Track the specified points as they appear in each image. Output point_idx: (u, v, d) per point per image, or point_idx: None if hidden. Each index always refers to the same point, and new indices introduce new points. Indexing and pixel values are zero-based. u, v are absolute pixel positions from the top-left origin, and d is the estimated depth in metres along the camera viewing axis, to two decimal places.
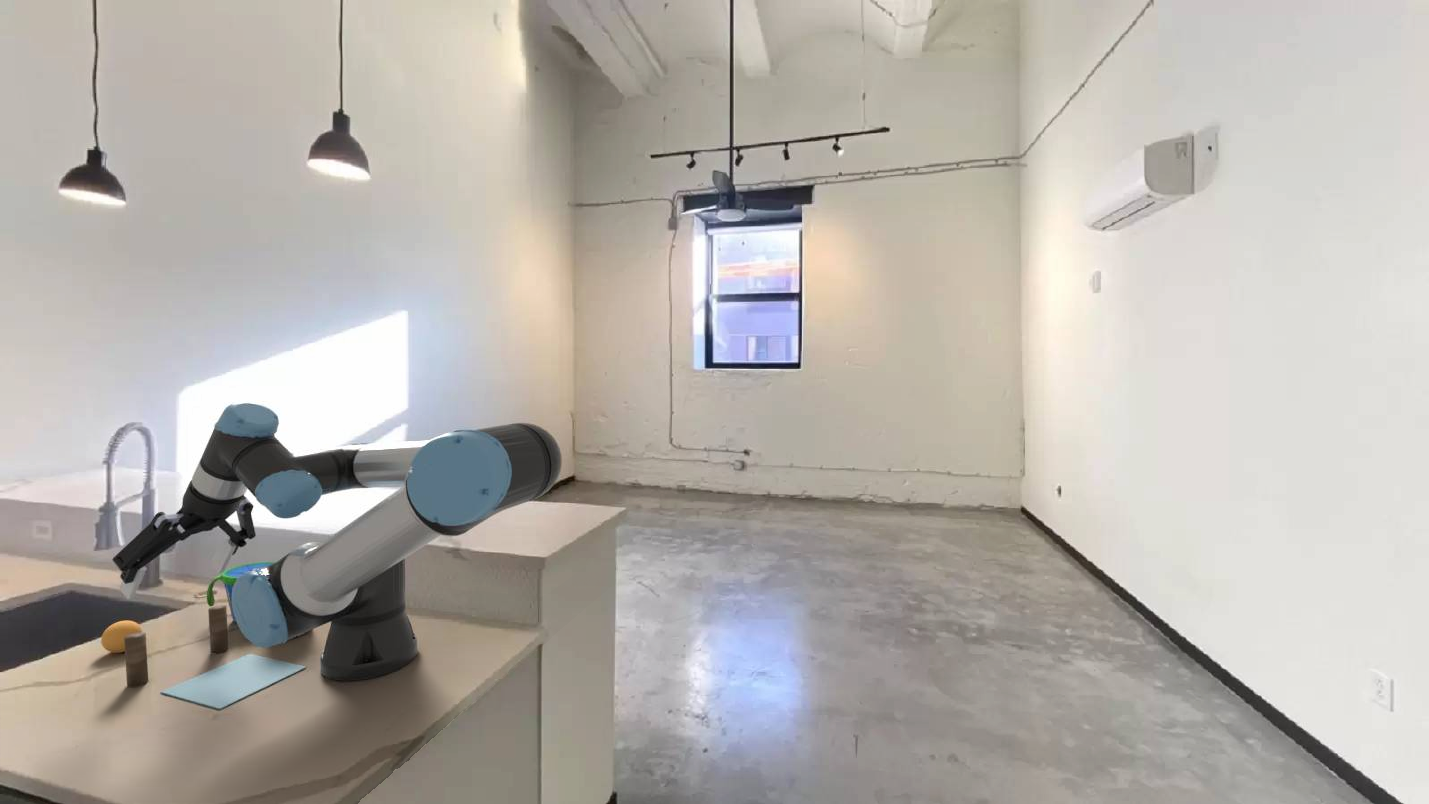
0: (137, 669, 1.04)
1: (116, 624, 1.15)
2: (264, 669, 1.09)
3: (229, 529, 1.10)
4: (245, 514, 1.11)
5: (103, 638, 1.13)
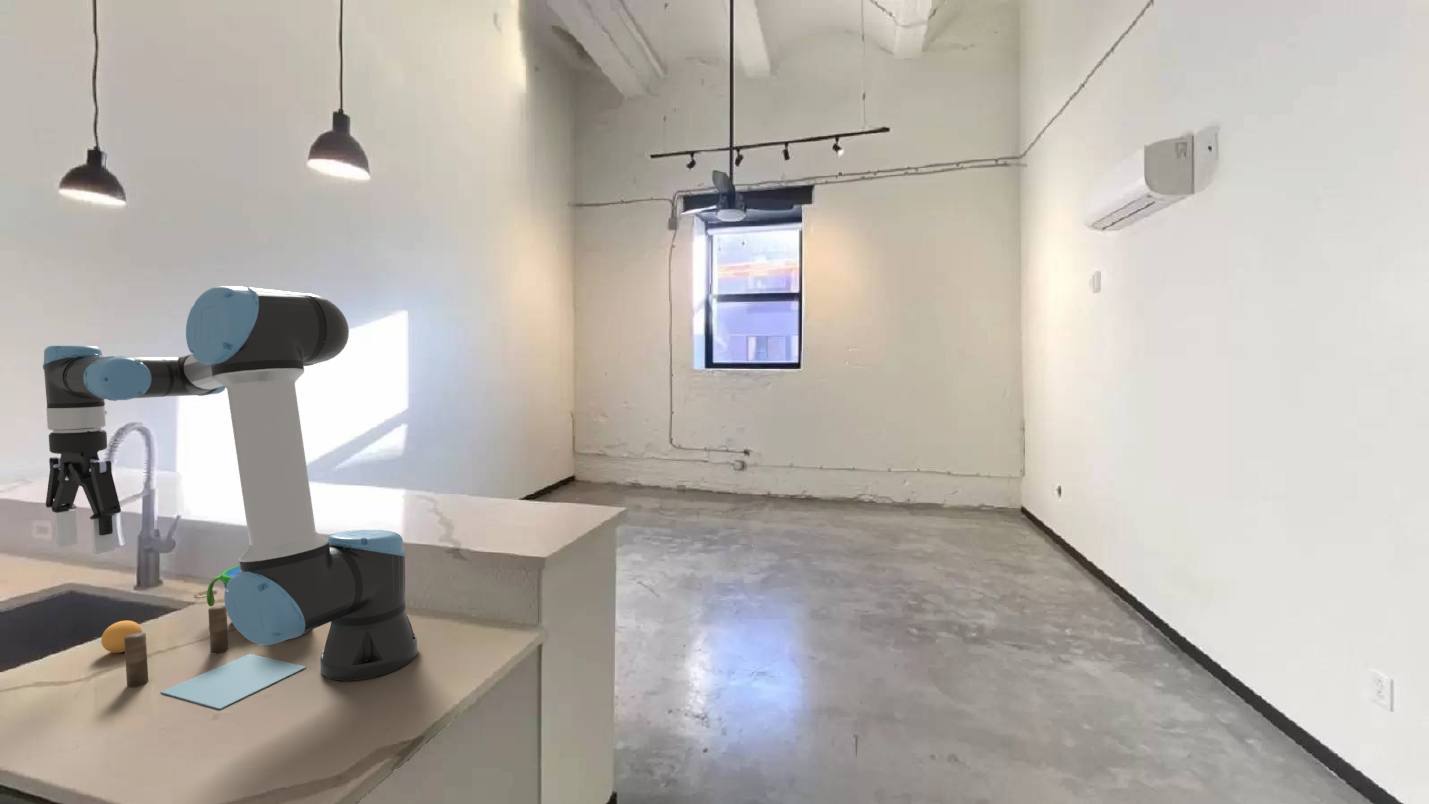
0: (137, 669, 1.04)
1: (116, 624, 1.15)
2: (264, 669, 1.09)
3: (86, 488, 1.15)
4: (91, 473, 1.14)
5: (103, 638, 1.13)
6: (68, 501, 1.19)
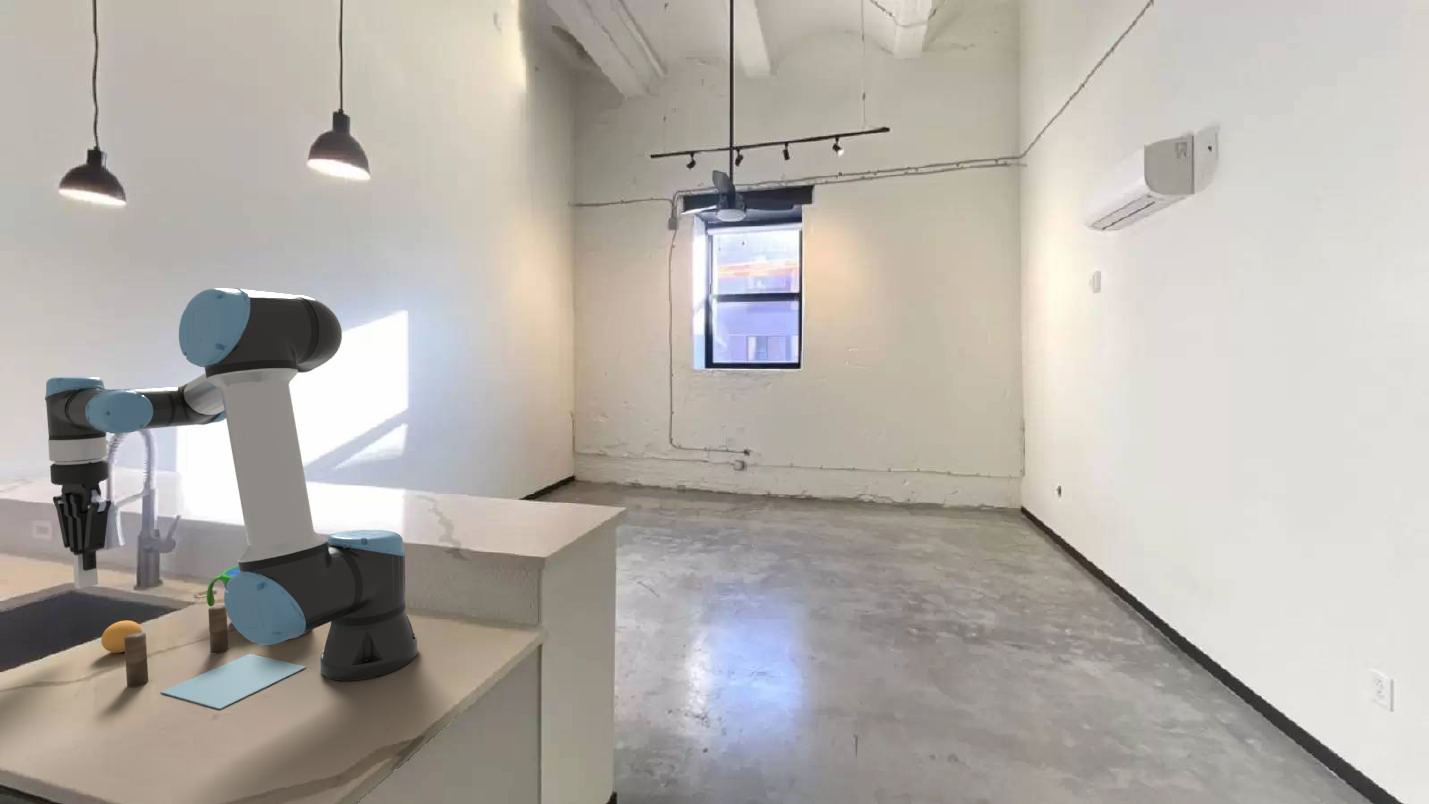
0: (137, 669, 1.04)
1: (116, 624, 1.15)
2: (264, 669, 1.09)
3: (79, 522, 1.16)
4: (88, 510, 1.15)
5: (103, 638, 1.13)
6: None
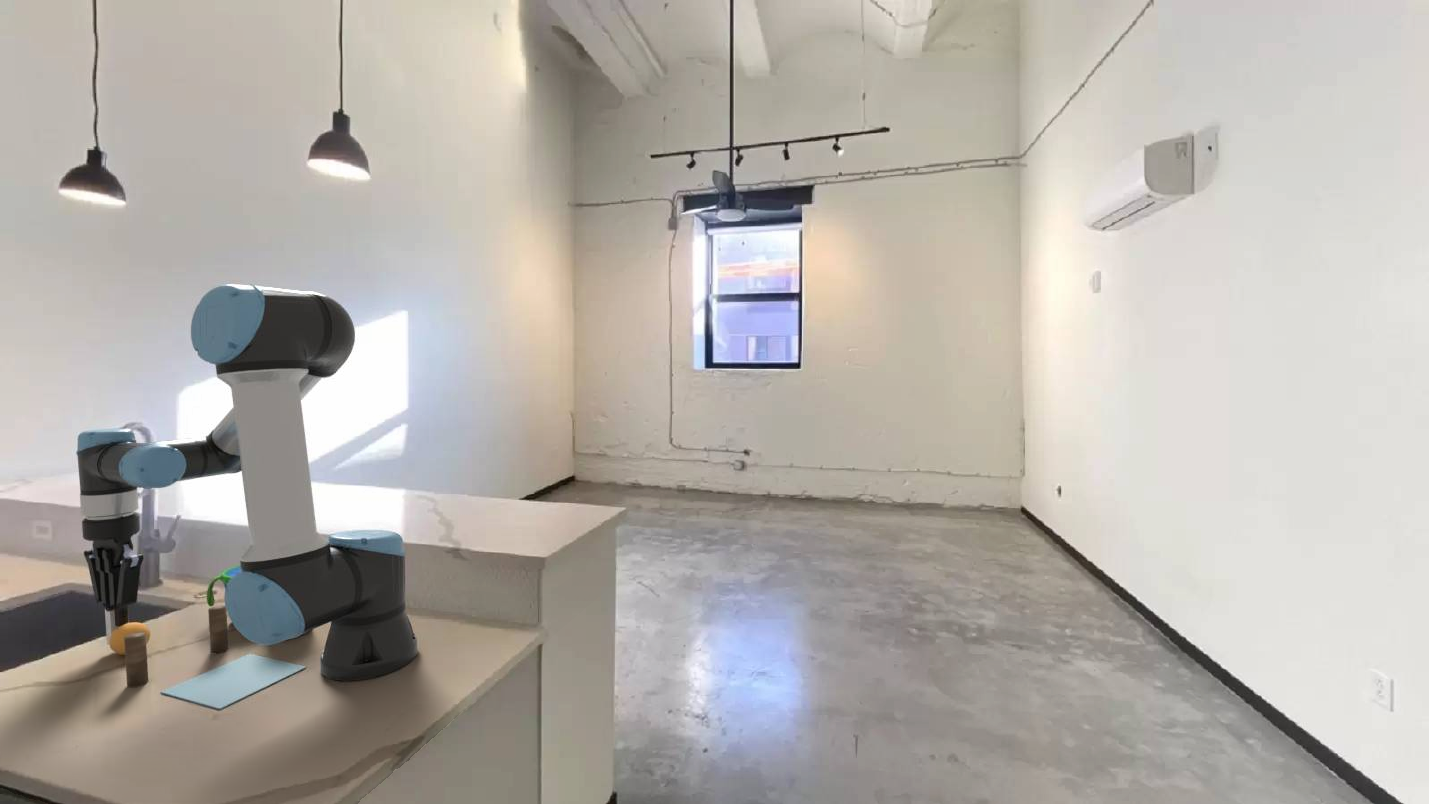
0: (137, 669, 1.04)
1: (128, 629, 1.14)
2: (264, 669, 1.09)
3: (111, 578, 1.14)
4: (121, 566, 1.13)
5: (112, 640, 1.13)
6: None
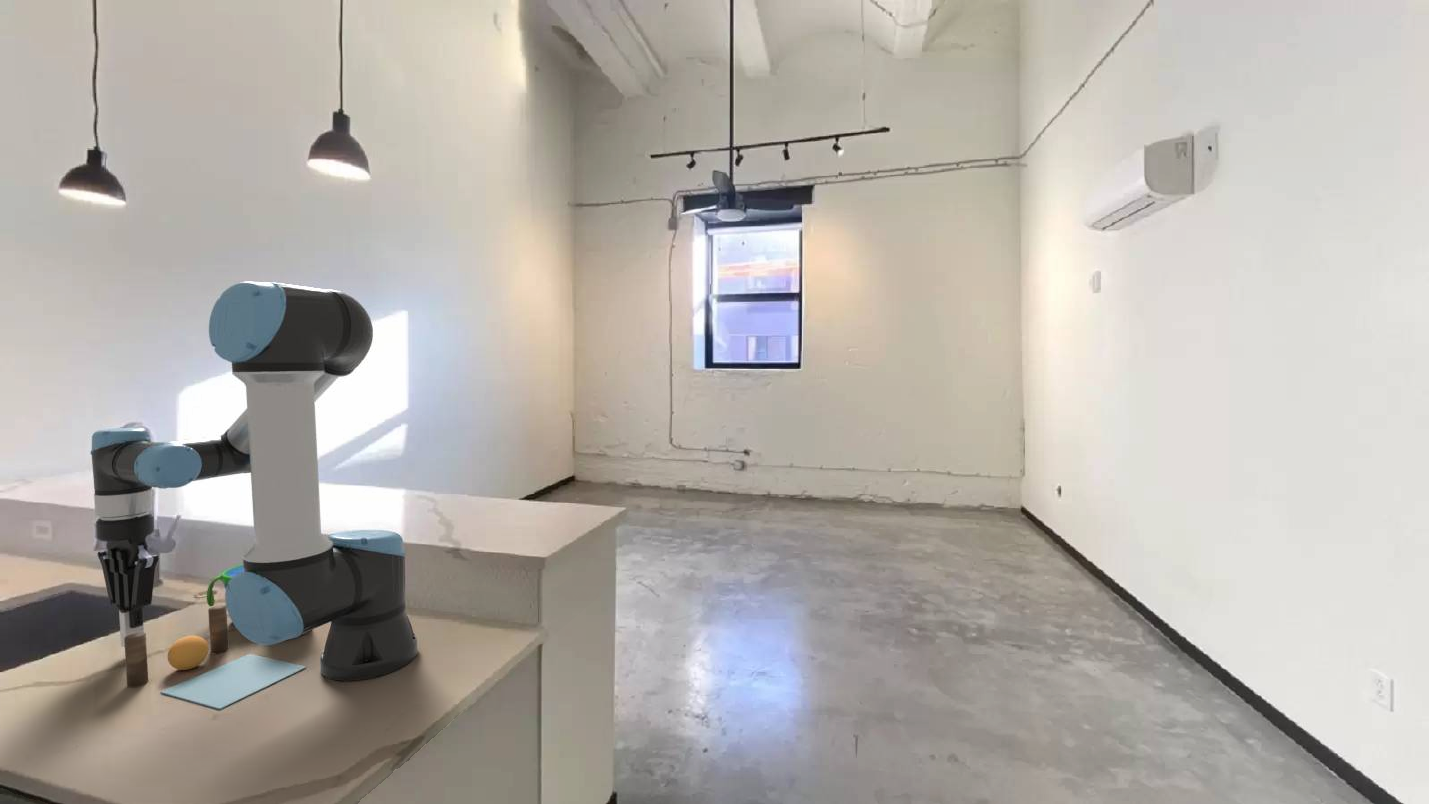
0: (137, 669, 1.04)
1: (181, 639, 1.09)
2: (264, 669, 1.09)
3: (125, 579, 1.12)
4: (136, 567, 1.11)
5: (169, 655, 1.07)
6: None
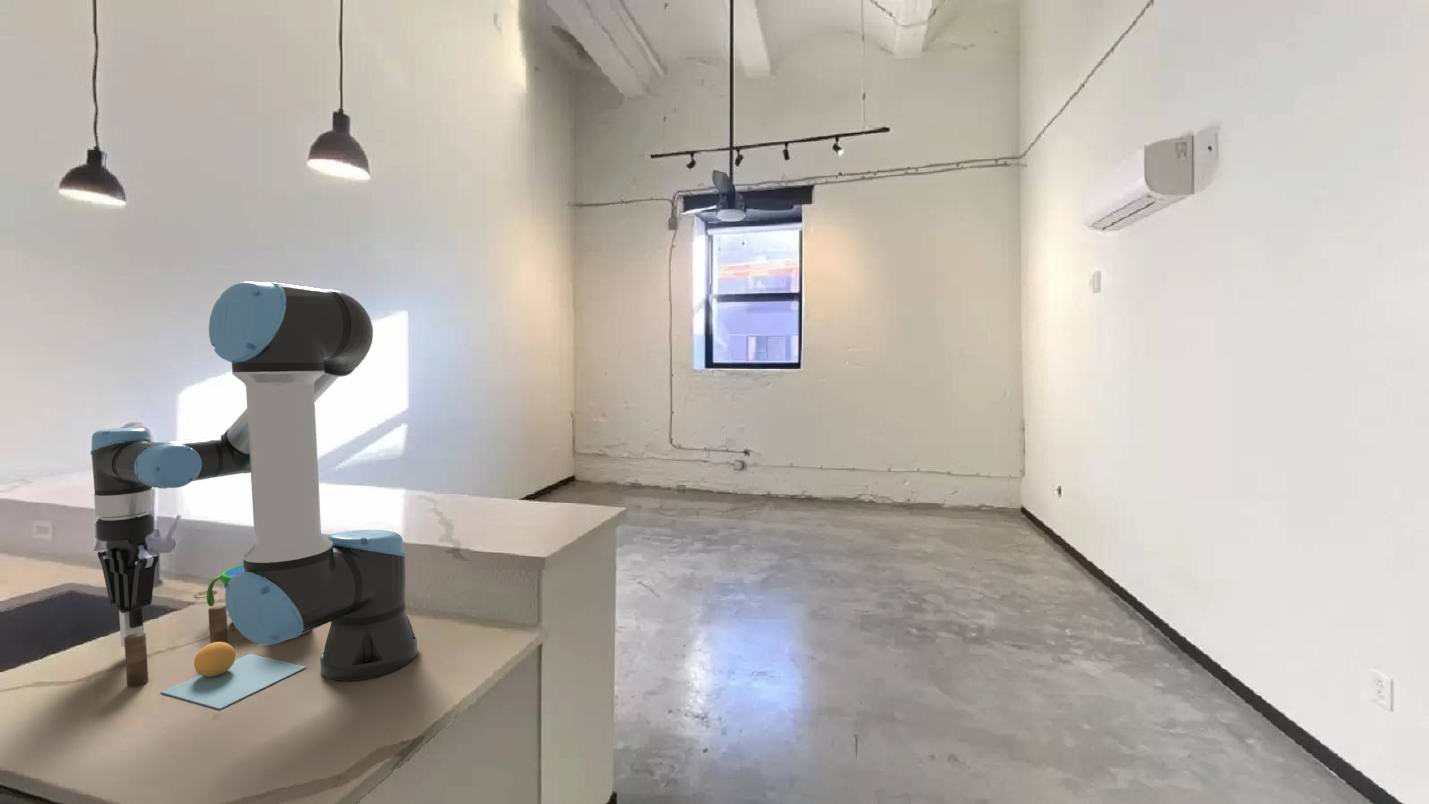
0: (137, 669, 1.04)
1: (217, 674, 1.06)
2: (264, 669, 1.09)
3: (125, 579, 1.12)
4: (136, 567, 1.11)
5: (200, 669, 1.05)
6: None
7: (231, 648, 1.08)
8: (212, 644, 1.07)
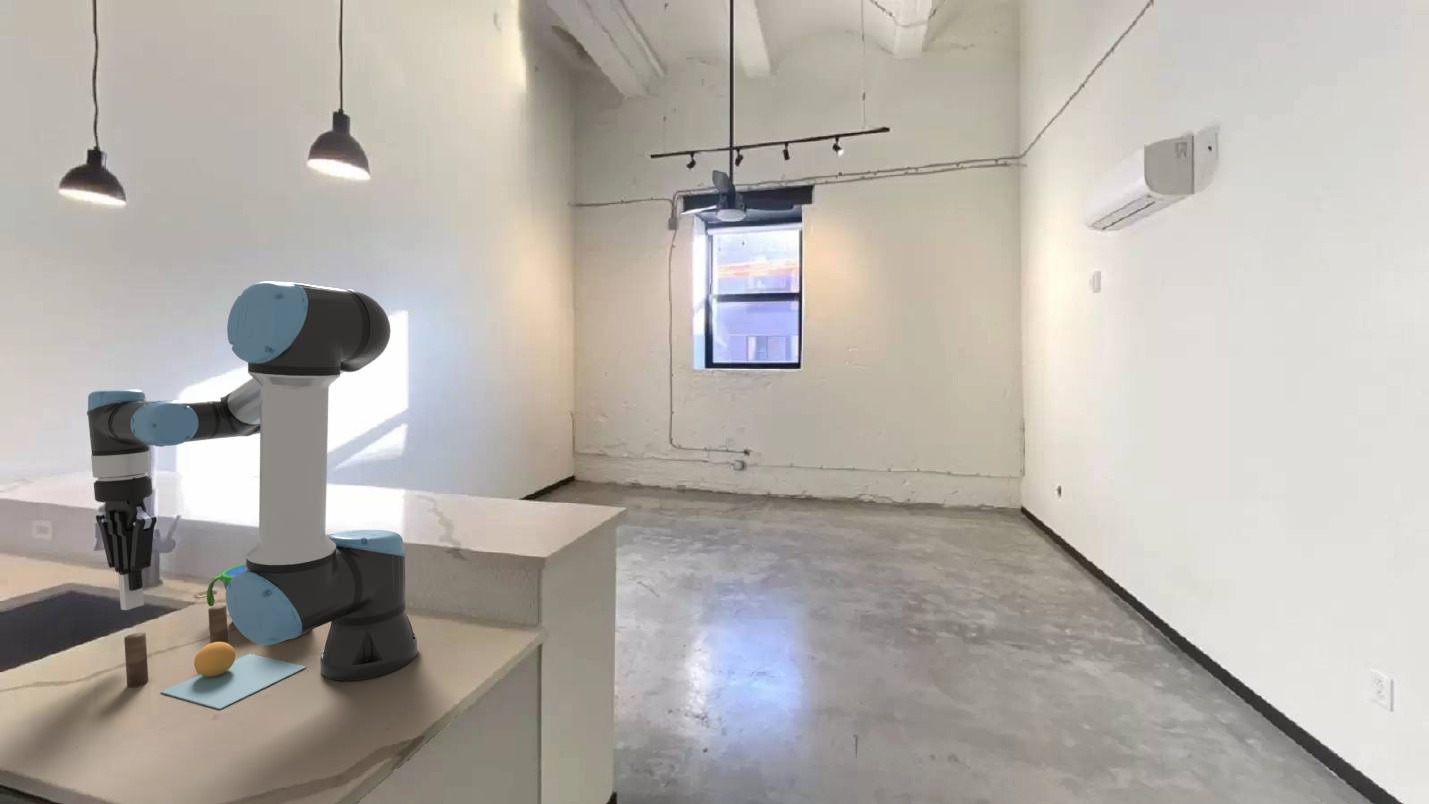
0: (137, 669, 1.04)
1: (217, 674, 1.06)
2: (264, 669, 1.09)
3: (124, 541, 1.12)
4: (134, 528, 1.11)
5: (200, 669, 1.05)
6: None
7: (231, 648, 1.08)
8: (212, 644, 1.07)
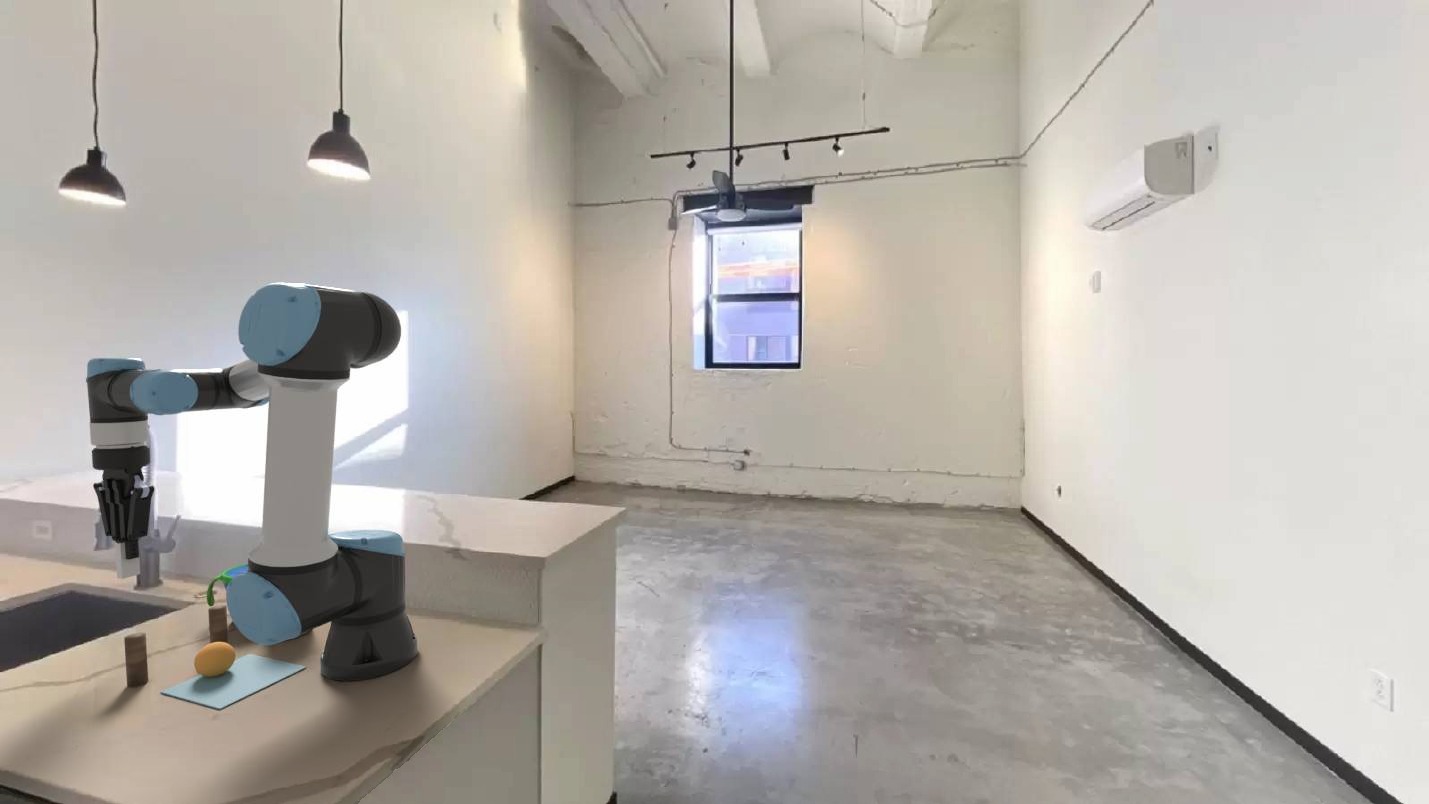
0: (137, 669, 1.04)
1: (217, 674, 1.06)
2: (264, 669, 1.09)
3: (121, 509, 1.12)
4: (132, 496, 1.10)
5: (200, 669, 1.05)
6: None
7: (231, 648, 1.08)
8: (212, 644, 1.07)
